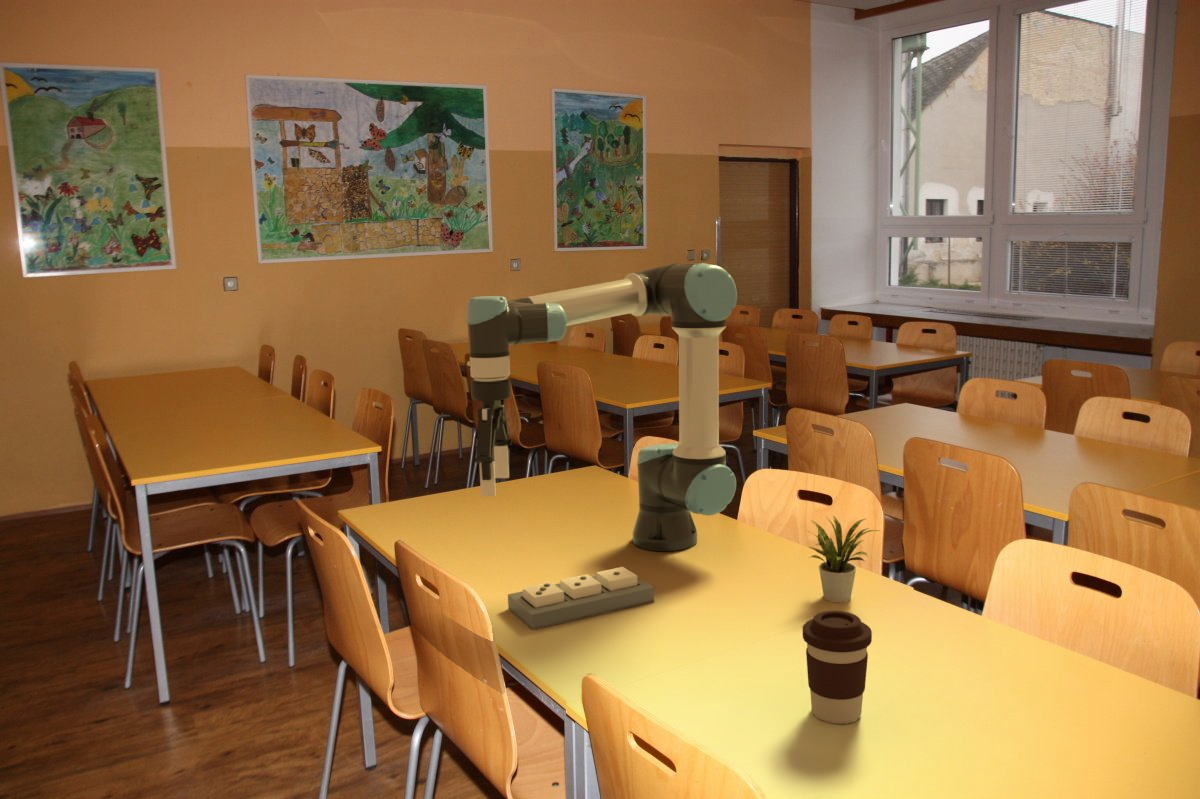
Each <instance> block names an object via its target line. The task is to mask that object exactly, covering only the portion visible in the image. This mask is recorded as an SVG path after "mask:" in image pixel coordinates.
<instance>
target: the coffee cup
mask: <svg viewBox="0 0 1200 799" xmlns="http://www.w3.org/2000/svg"><path fill="white" fill-rule="evenodd" d="M872 635H873V632H872V629H871V628H870V626H869V625H868V624H867V623H865V622H863V621H862V620H861V619H860V617H858V615H856V614H855V613H852V612H848V611H844V610H832V609H831V610H824V611H821V612H817V613H816V614H815V615H814V616H813V618H812V619H809V620H807V621H806V622H804V623H803V625H802V639H803V641H804V642H805V643H806V645H807V646H806V648H805V649H806V650H805V655H806V667H807V668H806V670H807V684H808V687H809V690H810V703H811V704H810V705H811V707H810V708H811V711H812V713H813V715H814V716H815V717H816V718H817V719H819V720H821V721H822V722H823V721H824V722H826V723H829V724H836V725H837V724H838V725H840V724H842V725H843V724H850V723H853V722H855V721H858V719H860V718H861V715H862V710H863V698H864V692H865V690H866V683H867V682H866V678H867V671H868V670H867V669H868V668H867V667H868V659H869V658H868V656H869V655H868V647H869V646H870V645H871V644H872V637H873V636H872Z"/></svg>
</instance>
